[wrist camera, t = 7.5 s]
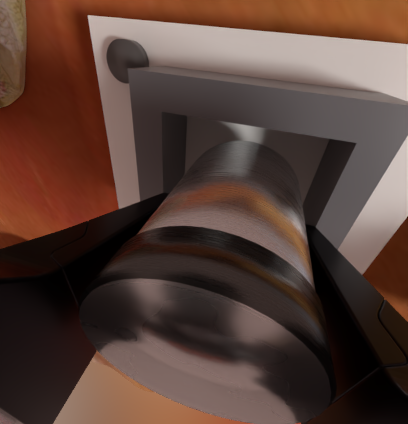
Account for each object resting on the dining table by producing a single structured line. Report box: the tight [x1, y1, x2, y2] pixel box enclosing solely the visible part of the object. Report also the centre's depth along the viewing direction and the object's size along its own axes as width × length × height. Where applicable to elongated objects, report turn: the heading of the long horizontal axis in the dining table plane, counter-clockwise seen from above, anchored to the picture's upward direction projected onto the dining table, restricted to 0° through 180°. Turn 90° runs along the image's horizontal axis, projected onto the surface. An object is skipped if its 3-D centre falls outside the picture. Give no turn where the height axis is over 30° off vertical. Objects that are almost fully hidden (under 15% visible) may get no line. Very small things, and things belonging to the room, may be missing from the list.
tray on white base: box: [88, 15, 408, 275], centre depth 12 cm, size 16×12×7 cm
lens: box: [78, 141, 337, 424], centre depth 7 cm, size 5×5×7 cm
